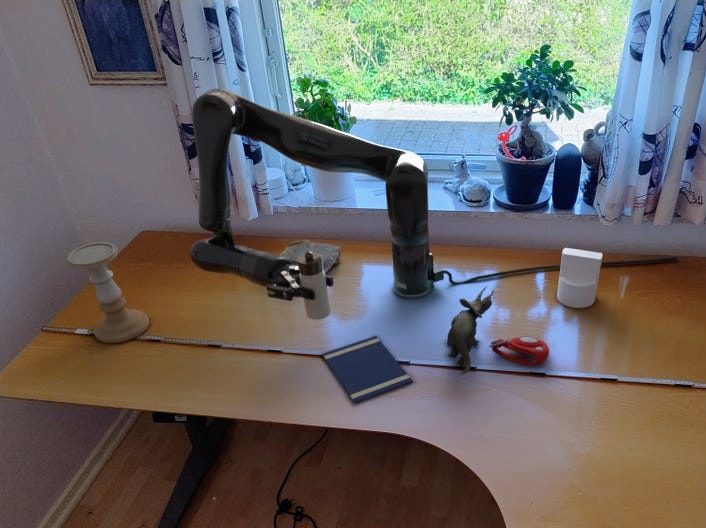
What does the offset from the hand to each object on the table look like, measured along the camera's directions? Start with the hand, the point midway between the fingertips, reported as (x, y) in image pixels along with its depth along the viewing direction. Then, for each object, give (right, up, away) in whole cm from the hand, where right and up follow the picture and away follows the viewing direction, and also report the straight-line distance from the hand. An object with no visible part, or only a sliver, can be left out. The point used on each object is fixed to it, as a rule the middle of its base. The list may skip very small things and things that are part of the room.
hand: (323, 288), depth 133 cm
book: (+9, -17, 0) cm, 19 cm away
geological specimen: (-9, +9, +33) cm, 36 cm away
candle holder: (-50, -8, +15) cm, 52 cm away
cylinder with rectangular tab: (+58, 0, +18) cm, 61 cm away
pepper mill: (-2, -5, +6) cm, 7 cm away
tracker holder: (+42, -14, +2) cm, 44 cm away
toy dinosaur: (+30, -14, +2) cm, 33 cm away
